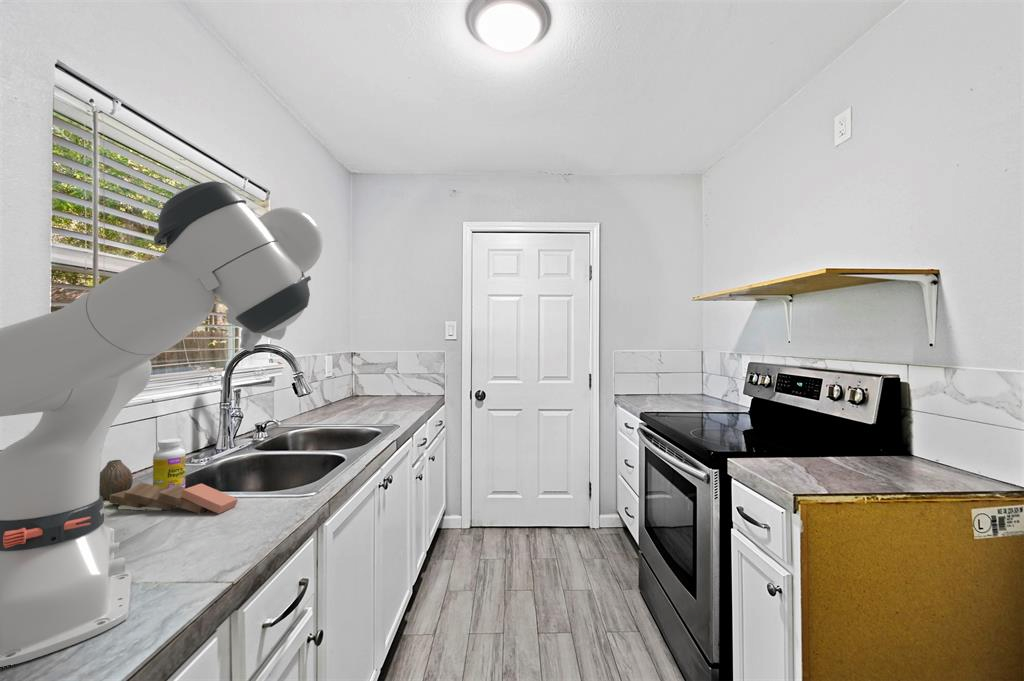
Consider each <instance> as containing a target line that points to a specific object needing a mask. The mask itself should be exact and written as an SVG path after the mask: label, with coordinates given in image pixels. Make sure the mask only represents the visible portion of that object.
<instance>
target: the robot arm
mask: <svg viewBox="0 0 1024 681" xmlns="http://www.w3.org/2000/svg"><path fill="white" fill-rule="evenodd" d="M157 226H158V232H157V233H156V234H155V235H154V238H153V241H154V244H155V245H156V246H165V245H166V247H165V248H166V250H165V252H164V253H163V254H161V255H160V256H157V257H154V258H152V259H149V260H146V261H143V262H141V263H138V264H136V265H133V266H131V267H128V268H126V269H124V270H122V271H120V272H118V273H116V274H114V275H113V276H111V277H109V278H108V279H107V278H106V280H104V281H103V282H101V283H99V284H98V285H96V286H94V287H93V288H91V289H90V290H89V291H87V292H85V293H84V294H83V295H81V296H79V298H77V299H75V300H74V301H72V302H71V303H69V304H67V305H65V306H63V307H62V308H60V309H57V310H54V311H51V312H48V313H46V314H43V315H40V316H37V317H33V318H30V319H26V320H23V321H20V322H18V323H13V324H10V325H6V326H4V327H0V417H10V416H17V415H27V414H35V413H42V415H41V418H40V420H39V421H38V423H37V425H36V426H35V427H34V428H33V429H32V430H31V432H29V433H28V434H27V435H26V436H24V437H23V438H20V439H19V440H17V441H15V442H13V443H11V444H10V445H8V446H6V447H5V448H4V449H2V450H1V451H0V666H1V667H2V666H6V665H11V666H15V665H17V664H20V663H21V664H22V663H25V662H27V661H31V660H33V659H36V658H39V657H43V656H45V655H48V654H51V653H54V652H57V651H59V650H62V649H65V648H68V647H70V646H72V645H76V644H78V643H80V642H83V641H85V640H88V639H90V638H93V637H95V636H97V635H99V634H101V633H104V632H106V631H108V630H110V629H112V628H113V627H115V626H117V625H119V624H121V623H122V622H124V621H125V620H127V619H128V618H129V615H130V606H131V605H130V604H131V592H132V582H133V576H132V571H131V570H126V557H124V556H122V557H117V558H115V553H118V552H120V549H121V543H120V541H118V542H117V541H116V542H115V529H114V528H112V527H110V526H107V525H105V524H104V521H105V504H104V498H103V497H102V496H100V495H99V487H100V472H101V464H102V462H101V461H102V452H103V447H104V443H105V440H106V437H107V434H108V433H109V431H110V428H111V427H112V425H113V423H114V421H115V419H116V418H117V417H118V415H119V414H120V412H121V411H122V410H123V409H124V407H125V406H127V404H128V403H130V402H131V400H133V399H134V398H136V396H138V395H139V394H141V393H142V392H143V391H144V390H145V388H146V387H147V386H148V383H149V382H150V379H151V376H152V372H153V371H152V366H153V365H152V362H151V360H153V359H154V358H156V357H158V356H159V355H161V354H163V353H164V352H167V351H168V350H169V349H171V348H172V347H174V346H175V345H177V344H178V343H180V342H181V341H182V340H184V339H186V338H187V337H188V336H190V335H191V333H193V332H194V331H195V330H196V329H197V328H198V327H199V326H201V324H203V322H204V321H205V320H207V318H208V317H209V316H210V315H211V313H212V312H213V310H214V306H215V303H216V298H217V299H218V300H219V301H220V302H221V303H222V304H223V305H224V306H225V307H226V308H227V312H226V315H225V319H226V320H225V322H227V323H228V324H231V325H233V326H235V327H238V328H242V329H241V332H240V335H241V342H240V345H239V347H240V348H241V349H243V350H245V351H248V352H253V351H254V350H255V346H256V345H257V343H259V342H260V340H261V339H262V337H263V336H264V337H266V338H270V339H272V340H273V339H274V340H278V341H280V340H282V339H283V338H284V337H285V334H286V331H287V327H288V326H290V325H292V324H293V323H294V322H296V321H297V320H298V319H299V318H300V316H301V315H303V313H304V311H305V309H306V308H307V307H308V305H309V301H310V297H311V294H310V288H309V284H308V283H309V282H310V281H311V280H312V277H311V275H308V276H305V273H306V272H308V271H309V270H310V269H312V268H313V267H314V266H315V265H316V263H317V262H318V260H319V259H320V256H321V254H322V251H323V236H322V232H321V230H320V227H319V226H318V224H317V223H316V222H315V220H314V219H313V218H312V217H311V215H309V214H308V213H307V212H306V213H305V212H304V211H302V210H299V209H297V208H293V207H278V208H273V209H271V210H270V209H269V211H266V212H264V213H263V214H262V215H261V216H257V215H256V214H255V212H254V211H252V209H250V207H249V206H248V205H247V200H246V199H245V198H244V197H242V195H241V194H239V193H238V191H236V190H235V189H234V188H233V187H231V185H229V184H228V183H225V182H222V181H221V182H220V181H206V182H201V183H200V182H199V183H193V184H191V185H188V186H186V187H185V186H184V187H183V188H181V189H180V190H178V191H177V192H176V193H175V194H173V195H172V197H170V198H169V199H168V200H167V201H166V202H165V203H164V204H163V206H162V208H161V210H160V213H159V217H158V220H157ZM14 664H15V665H14Z"/></svg>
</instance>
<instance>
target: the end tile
mask: <svg viewBox="0 0 1024 681" xmlns="http://www.w3.org/2000/svg"><path fill="white" fill-rule="evenodd" d="M185 488H186V489H183V492H182V495H181V497H182V498H184V499H186V500H188V501H191V502H193V503H195V504H198V505H200V506H202V507H204V508H207V510H209V511H211V512H214V513H215V514H222V513H223V512H226V511H229V510H230V509H233V508H235V507H236V506H237V503H238V500H239V499H238V498H237V497H235V496H234V497H233V496H232V495H229V494H227V493H224V492H223V491H220V490H218V489H216V488H213V487H211V486H209V485H206V484H204V483H198V484H195V485H192V486H189V487H185Z"/></svg>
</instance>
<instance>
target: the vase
mask: <svg viewBox="0 0 1024 681" xmlns="http://www.w3.org/2000/svg"><path fill="white" fill-rule="evenodd" d="M133 480H134V477H133V474H132V471H131V470H130V468H129V467H128V466H127V465H126V464H125V463H124V462H122V460H121V459H114V460H109V461H108V462H107V463H106V465H105V466H104V468H103V469H102V470H100V487H99V495H100V496H102V497H103V499H104V498H110V495H112V494H115V493H119V492H123V491H127V490H129V489H130V488H132V487H133V486H132V485H133V482H134V481H133Z"/></svg>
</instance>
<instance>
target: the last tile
mask: <svg viewBox="0 0 1024 681" xmlns="http://www.w3.org/2000/svg"><path fill="white" fill-rule="evenodd" d="M119 509H131V510H130V511H146V510H145V509H148V510H147V511H163V510H162V509H161V508H157V507H153V506H148V505H147V506H144V507H141V508H136V507H131V506H125V505H119V506H118V510H119ZM132 509H133V510H132ZM134 509H135V510H134ZM149 509H150V510H149Z"/></svg>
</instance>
